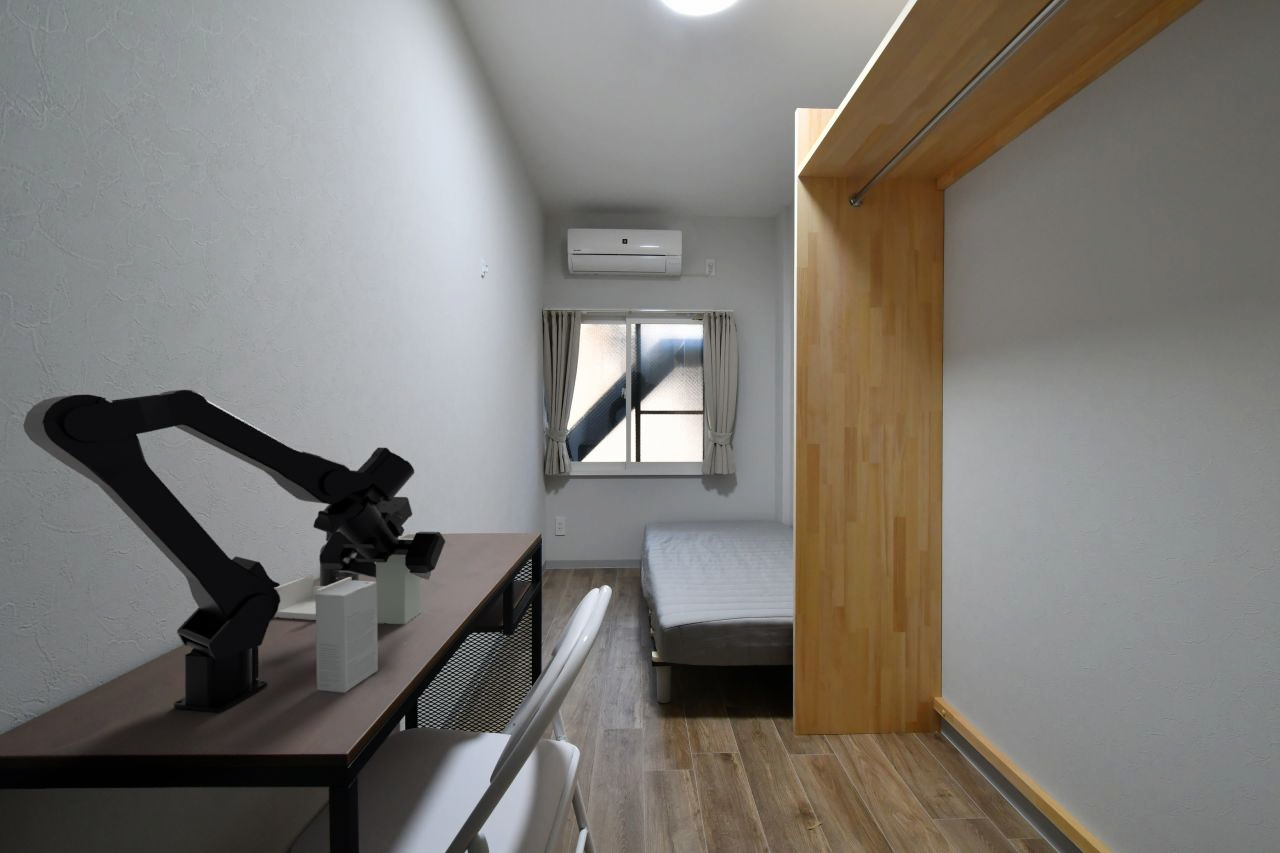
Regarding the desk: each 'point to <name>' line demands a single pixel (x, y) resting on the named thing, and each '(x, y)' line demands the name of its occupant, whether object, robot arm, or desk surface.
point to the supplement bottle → (333, 572)
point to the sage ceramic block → (397, 591)
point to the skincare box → (346, 635)
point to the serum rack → (301, 598)
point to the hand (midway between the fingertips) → (403, 576)
